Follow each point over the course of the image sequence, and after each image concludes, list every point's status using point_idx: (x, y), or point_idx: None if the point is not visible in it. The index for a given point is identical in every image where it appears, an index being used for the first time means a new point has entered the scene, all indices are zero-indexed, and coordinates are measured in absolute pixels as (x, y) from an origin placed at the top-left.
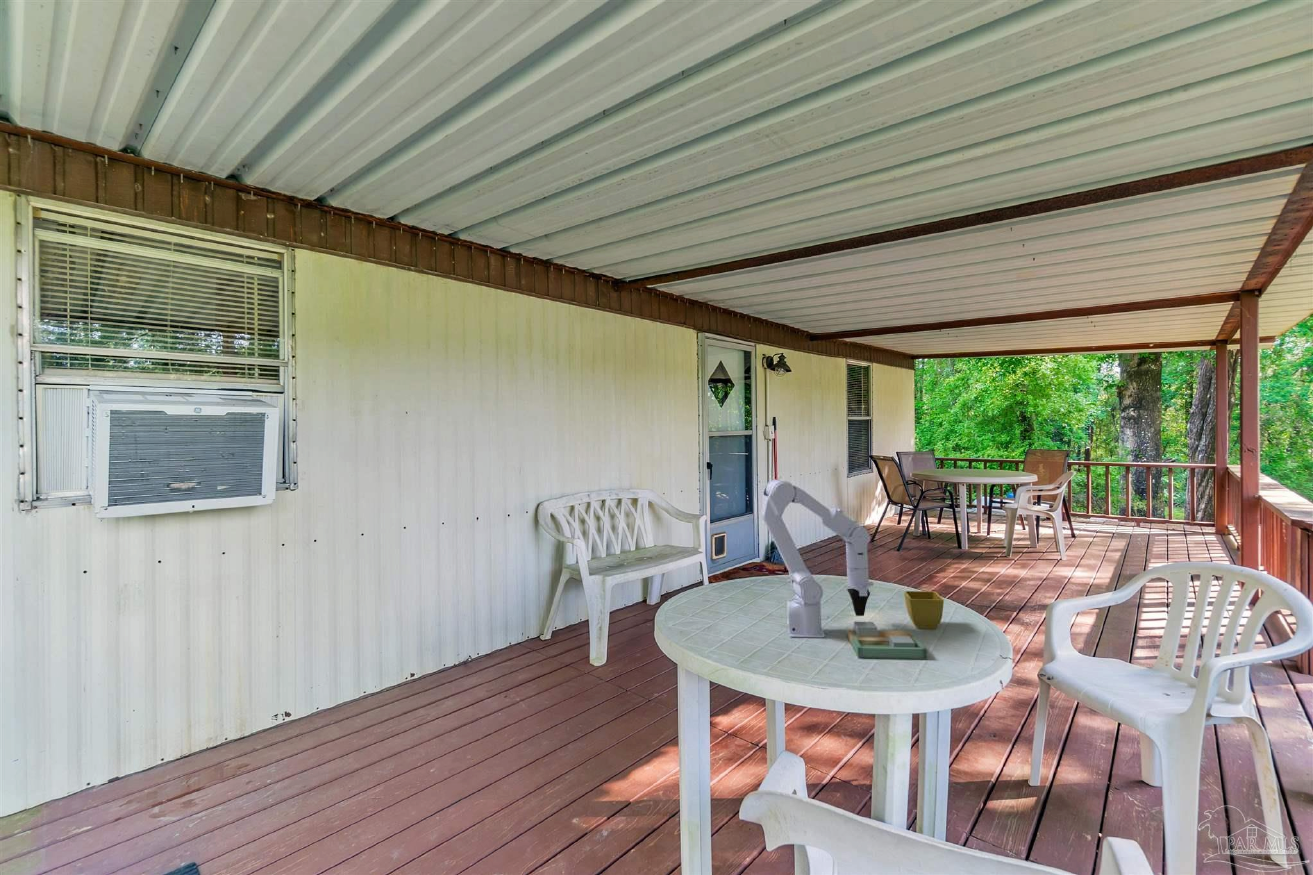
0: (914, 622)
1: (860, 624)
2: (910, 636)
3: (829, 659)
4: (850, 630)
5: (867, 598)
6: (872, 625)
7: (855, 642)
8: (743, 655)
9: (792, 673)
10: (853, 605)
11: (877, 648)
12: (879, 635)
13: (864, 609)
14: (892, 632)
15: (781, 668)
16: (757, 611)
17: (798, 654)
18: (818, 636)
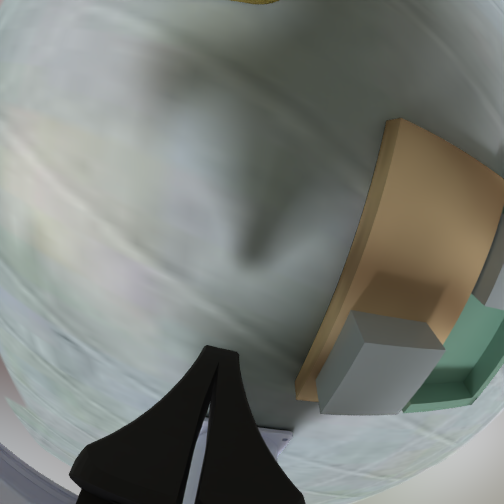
0: (275, 1)
1: (372, 401)
2: (471, 167)
3: (426, 430)
4: (304, 389)
5: (279, 468)
6: (411, 360)
7: (444, 407)
8: (331, 497)
9: (429, 460)
10: (198, 434)
11: (502, 364)
12: (415, 307)
13: (242, 385)
14: (405, 221)
15: (406, 471)
16: (71, 433)
17: (371, 464)
18: (288, 442)
